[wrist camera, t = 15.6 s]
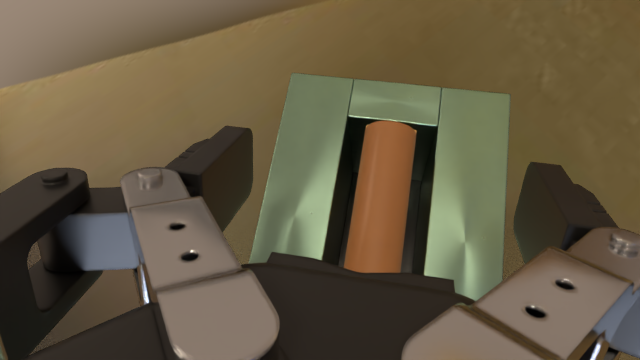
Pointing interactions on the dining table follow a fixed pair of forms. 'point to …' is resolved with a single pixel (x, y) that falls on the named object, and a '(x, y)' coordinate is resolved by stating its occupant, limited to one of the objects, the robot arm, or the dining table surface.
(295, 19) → the dining table surface
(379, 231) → the bread slice
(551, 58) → the dining table surface
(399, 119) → the toaster
